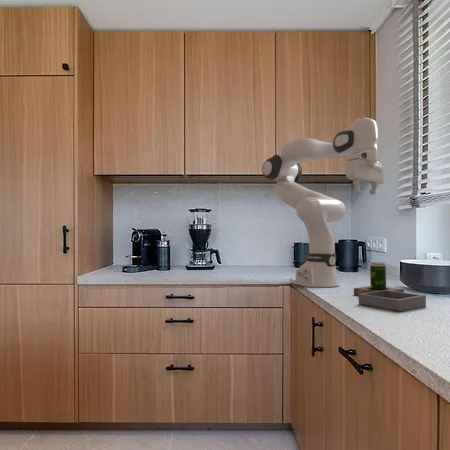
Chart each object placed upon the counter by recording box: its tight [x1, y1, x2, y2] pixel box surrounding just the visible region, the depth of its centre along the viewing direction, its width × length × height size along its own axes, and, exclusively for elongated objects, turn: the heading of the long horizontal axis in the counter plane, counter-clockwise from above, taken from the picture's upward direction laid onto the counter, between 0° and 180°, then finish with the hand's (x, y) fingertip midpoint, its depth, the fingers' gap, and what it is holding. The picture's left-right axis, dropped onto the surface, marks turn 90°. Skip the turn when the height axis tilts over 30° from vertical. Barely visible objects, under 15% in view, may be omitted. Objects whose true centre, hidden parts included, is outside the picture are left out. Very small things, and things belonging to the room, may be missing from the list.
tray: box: [358, 290, 427, 313], centre depth 118 cm, size 14×14×4 cm
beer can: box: [369, 262, 387, 291], centre depth 137 cm, size 5×5×12 cm
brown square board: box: [353, 285, 405, 297], centre depth 137 cm, size 12×12×2 cm
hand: (365, 193), depth 146 cm, fingers open, 8 cm apart
